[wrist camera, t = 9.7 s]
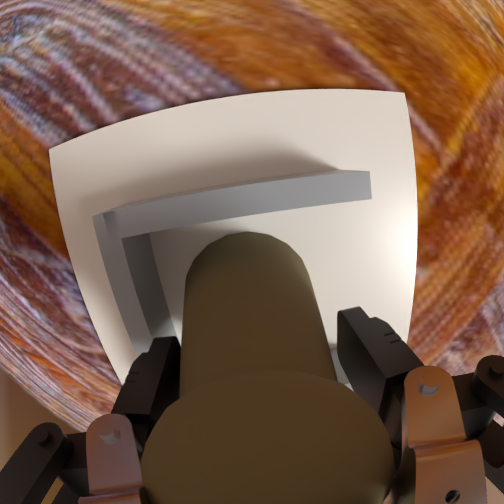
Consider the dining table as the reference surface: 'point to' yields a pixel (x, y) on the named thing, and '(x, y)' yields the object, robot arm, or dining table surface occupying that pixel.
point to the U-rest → (241, 205)
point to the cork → (261, 393)
